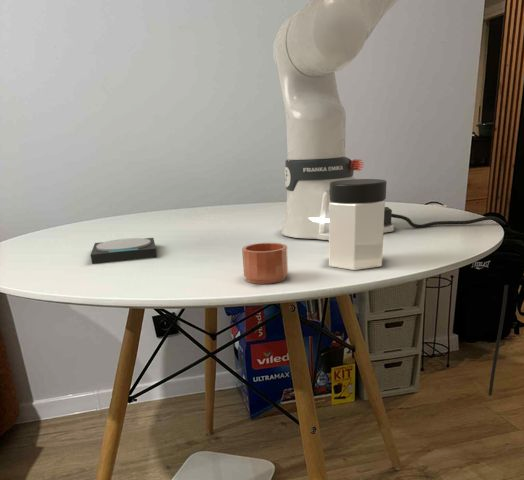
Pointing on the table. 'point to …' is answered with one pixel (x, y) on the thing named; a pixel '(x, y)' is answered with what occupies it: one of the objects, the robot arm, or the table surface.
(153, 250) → the scale
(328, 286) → the table surface
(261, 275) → the cup
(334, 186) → the jar
